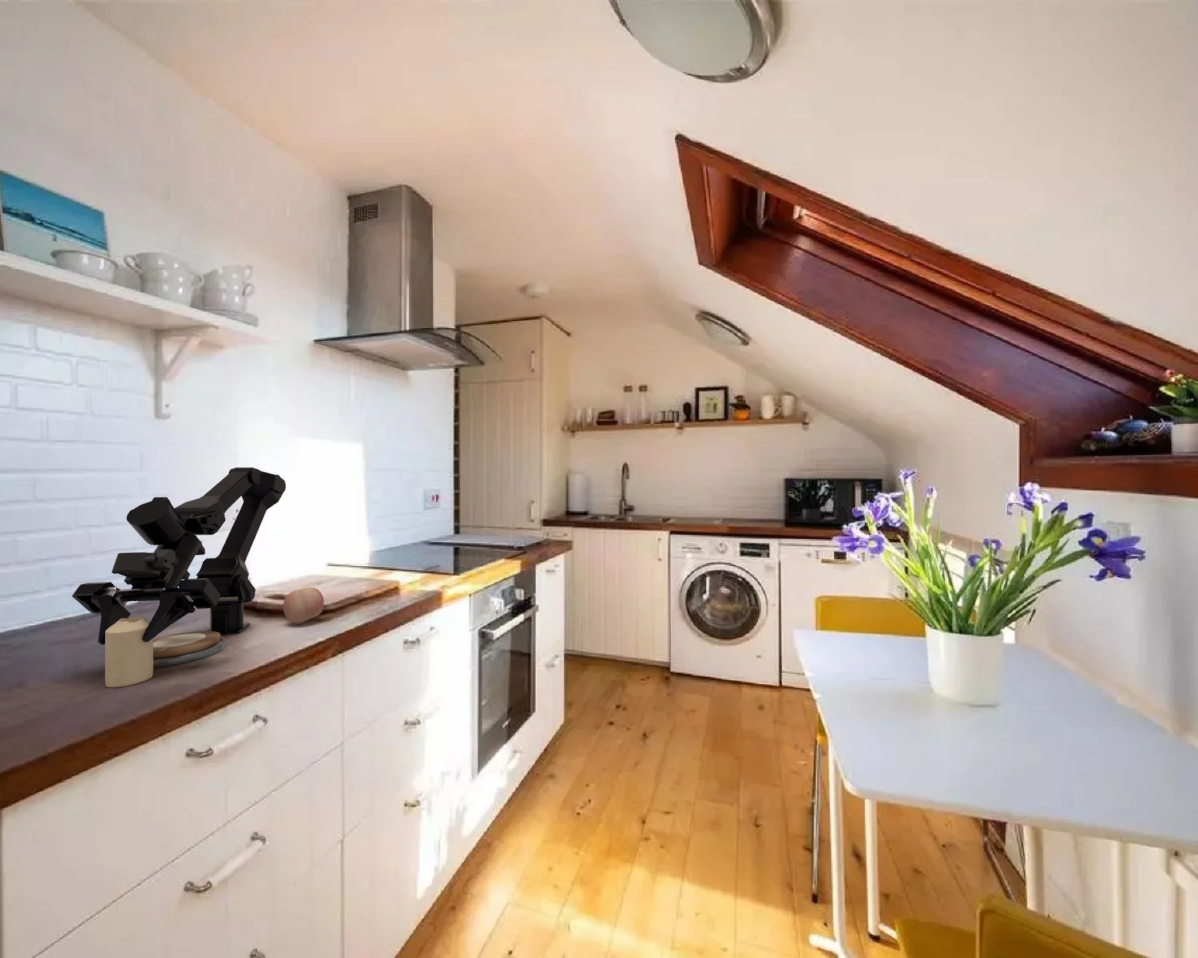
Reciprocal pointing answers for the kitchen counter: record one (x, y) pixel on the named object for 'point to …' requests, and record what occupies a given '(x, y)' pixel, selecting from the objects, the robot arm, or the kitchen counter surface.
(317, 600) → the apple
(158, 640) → the turntable
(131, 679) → the candle
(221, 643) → the turntable base
